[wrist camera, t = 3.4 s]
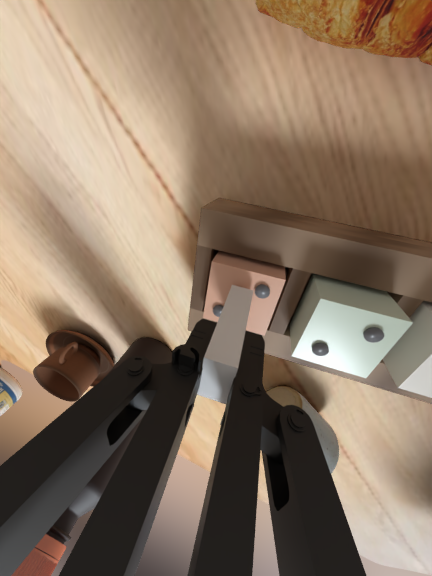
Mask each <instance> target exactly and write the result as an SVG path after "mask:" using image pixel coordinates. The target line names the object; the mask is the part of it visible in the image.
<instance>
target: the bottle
mask: <svg viewBox="0 0 432 576" xmlns="http://www.w3.org/2000/svg"><path fill="white" fill-rule="evenodd" d="M133 356H143V357H146V358H148V359H149V360H150V361H151V364H167V363H170V362H172V352H171V350H170V349H169V348H168V347H167V346H166V345H165V344H163V343H162V342H160V341H158V340H155V339H152V338H140V339H138V340H136V341H135V342H133V344H132V345H131V346H130V347H129V348H128V350H127V351H126V352H125V353H124V355H123V356H122V357H121V358H120V359H119V361H118V362H117V363H116V364H115V365H114V367H113V368H112V369H111V370H110V372H109V373H111V372H112V371H113V370H114V369H115V368H116V367H118V366H119V365H120V364H121V363H122V362H124V361H125V360H127V359H128V358H130V357H133ZM109 373H108V374H109ZM108 374H107V375H108ZM107 375H106V376H107ZM106 376H105V377H106ZM143 417H144V416H143ZM143 417H142V418H143ZM142 418H141V420H142ZM141 420H140V421H139V422H138V423H137V424H136V426H135V427H134V428H133V429H132V430H131V432H130V433H129V434H128V435H127V436H126V438H125V439H124V440H123V441H122V443H121V444H120V445H119V446H118V447H117V449H116V450H115V451H114V452H113V453H112V455H111V456H110V457H109V458H108V459H107V461H106V462H105V463H104V464H103V465H102V467H101V468H100V469H99V470H98V471H97V473H96V474H95V475H94V476H93V478H92V479H91V480H90V481H89V482H88V484H87V485H86V486H85V487H84V488H83V490H82V491H81V492H80V493H79V494H78V496H77V497H76V498H75V499H74V500H73V502H72V503H71V504H70V505H69V506H68V508H67V509H66V510H65V511H64V513H63V514H62V515H61V516H60V517H59V519H58V520H57V521H56V522H55V523H54V525H53V526H52V527H51V528H50V529H49V531H48V532H47V533H46V534H45V535H44V537H43V538H42V539H41V540H40V541H39V543H38V544H37V545H36V546H35V548H34V549H33V550H32V551H31V552H30V554H29V555H28V556H27V557H26V558H25V560H24V561H23V562H22V563H21V564H20V566H19V567H18V568H17V569H16V570H15V572H14V573H13V574H12V575H11V576H51V574H52V572H53V571H54V569H55V567H56V565H57V563H58V561H59V560H60V558H61V556H62V555H63V553H64V551H65V549H66V546H64V545H63V544H64V542H65V541H69V540H70V539H71V537H70V536H69V533H70V531H71V530H72V528H73V526H74V524H75V523H76V521H77V519H78V518H79V517H81V516H82V515H84V514H85V513H87V512H89V511H90V510H92V509H94V508H95V507H96V505H97V503H98V501H99V499H100V497H101V495H102V494H103V492H104V490H105V488H106V486H107V484H108V482H109V480H110V479H111V477H112V475H113V473H114V471H115V469H116V467H117V465H118V464H119V462H120V460H121V458H122V456H123V454H124V452H125V450H126V449H127V447H128V445H129V443H130V441H131V439H132V437H133V435H134V433H135V432H136V430H137V428H138V426H139V424H140V422H141ZM57 560H58V561H57Z"/></svg>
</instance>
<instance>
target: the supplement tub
mask: <svg viewBox="0 0 432 576" xmlns="http://www.w3.org/2000/svg"><path fill="white" fill-rule="evenodd" d="M21 396H22V388H21V386H20V384H19V383H18V381H17V380H16V379H15V378H14V377H13V376H12V375H11V374H10V373H8V372H7V371H5V370H4V369H3V368H1V367H0V416H1V415H2V414H3V413H4V412H5V411H6V410H8V409H9V408H10V407H11V406H12V405H13V404H14V403H15V402H17V401H18V400H19V399H20V397H21Z"/></svg>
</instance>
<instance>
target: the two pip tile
mask: <svg viewBox="0 0 432 576" xmlns="http://www.w3.org/2000/svg"><path fill="white" fill-rule="evenodd" d="M412 324H413V322H412V321H411V319H410V318H409V317H408V316H407V315H406V314H405V312H404V311H403V310H402V309H401V308H400V306H399V305H398V304H397V303H396V302H395V301H394V299H393V298H392V297H391V296H390V295H389V294H388V292H387V291H383V290H379V289H375V288H371V287H367V286H363V285H359V284H355V283H351V282H346V281H342V280H338V279H334V278H330V277H326V276H322V275H318V274H314V273H313V274H312V276H311V278H310V280H309V283H308V285H307V287H306V289H305V291H304V294H303V296H302V298H301V300H300V303H299V305H298V307H297V309H296V312H295V314H294V316H293V318H292V321H291V323H290V339H291V354H292V356H293V357H296V358H300V359H303V360H306V361H310V362H313V363H316V364H320V365H323V366H326V367H330V368H333V369H336V370H340V371H343V372H346V373H350V374H353V375H356V376H360V377H363V378H367V377H368V375H369V374H370V373H371V372H372V371H373V370H374V368H375V367H376V366H377V365H378V364H379V362H380V361H381V360H382V359H383V358H384V357H385V355H386V354H387V353H388V352H389V351H390V350H391V348H392V347H393V346H394V345H395V344H396V342H397V341H398V340H399V339H400V338H401V337H402V335H403V334H404V333H405V332H406V331H407V330H408V328H409V327H410V326H411V325H412Z"/></svg>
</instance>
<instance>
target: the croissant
mask: <svg viewBox="0 0 432 576" xmlns="http://www.w3.org/2000/svg"><path fill="white" fill-rule="evenodd" d="M256 5H257V7H258V10H259V11H260V12H261V13H264V14H266V15H269V16H272V17H274V18H276V19H277V20H278V21H280V22H282V23H285V24H288V25H290V26H293V27H296V28H301V27H302V29H303V31H304V32H305V33H306V34H307V35H308V36H310V37H311V38H313V39H315V40H317V41H321V42H326V43H329V44H332V45H335V46H339V47H343V48H358V49H364V50H365V51H367V52H370V53H372V54H379V55H386V56H390V57H403V58H416V57H419V59H420V61H421V62H424V63H427V64H429V65H432V0H256Z"/></svg>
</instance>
